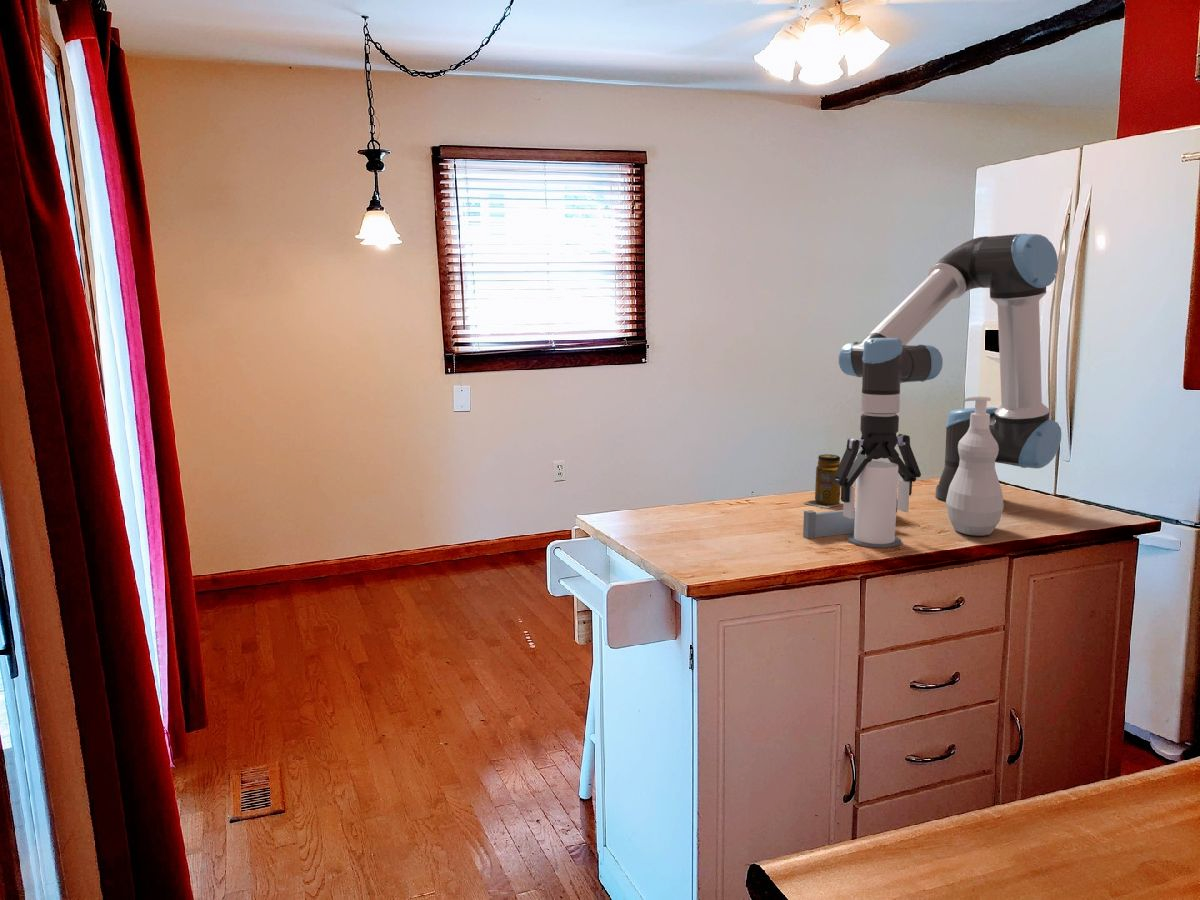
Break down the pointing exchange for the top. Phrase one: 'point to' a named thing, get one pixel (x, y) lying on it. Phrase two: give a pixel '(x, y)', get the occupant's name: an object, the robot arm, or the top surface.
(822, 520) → the grey barrier wall
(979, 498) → the soap bottle
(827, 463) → the condiment
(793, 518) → the top surface
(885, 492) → the cup
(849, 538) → the slate coaster
